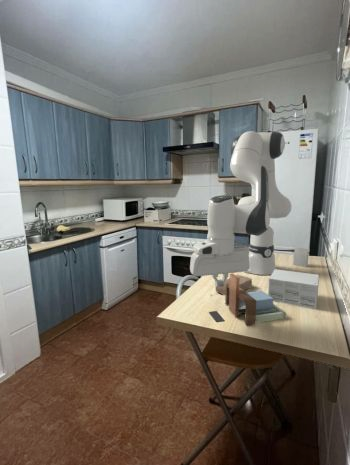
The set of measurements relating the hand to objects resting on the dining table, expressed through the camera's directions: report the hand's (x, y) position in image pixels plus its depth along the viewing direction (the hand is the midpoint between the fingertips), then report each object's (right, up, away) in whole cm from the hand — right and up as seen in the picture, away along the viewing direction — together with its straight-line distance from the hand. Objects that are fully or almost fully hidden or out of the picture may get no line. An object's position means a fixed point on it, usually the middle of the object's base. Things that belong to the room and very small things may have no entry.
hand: (219, 285), depth 87 cm
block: (+14, -10, +5) cm, 18 cm away
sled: (+11, -10, +4) cm, 15 cm away
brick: (+10, -7, +25) cm, 28 cm away
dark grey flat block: (-1, -11, +2) cm, 11 cm away
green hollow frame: (+15, -10, +5) cm, 19 cm away
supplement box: (+32, -8, +15) cm, 36 cm away
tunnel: (+7, -11, +4) cm, 13 cm away
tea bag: (+55, -1, +56) cm, 78 cm away
